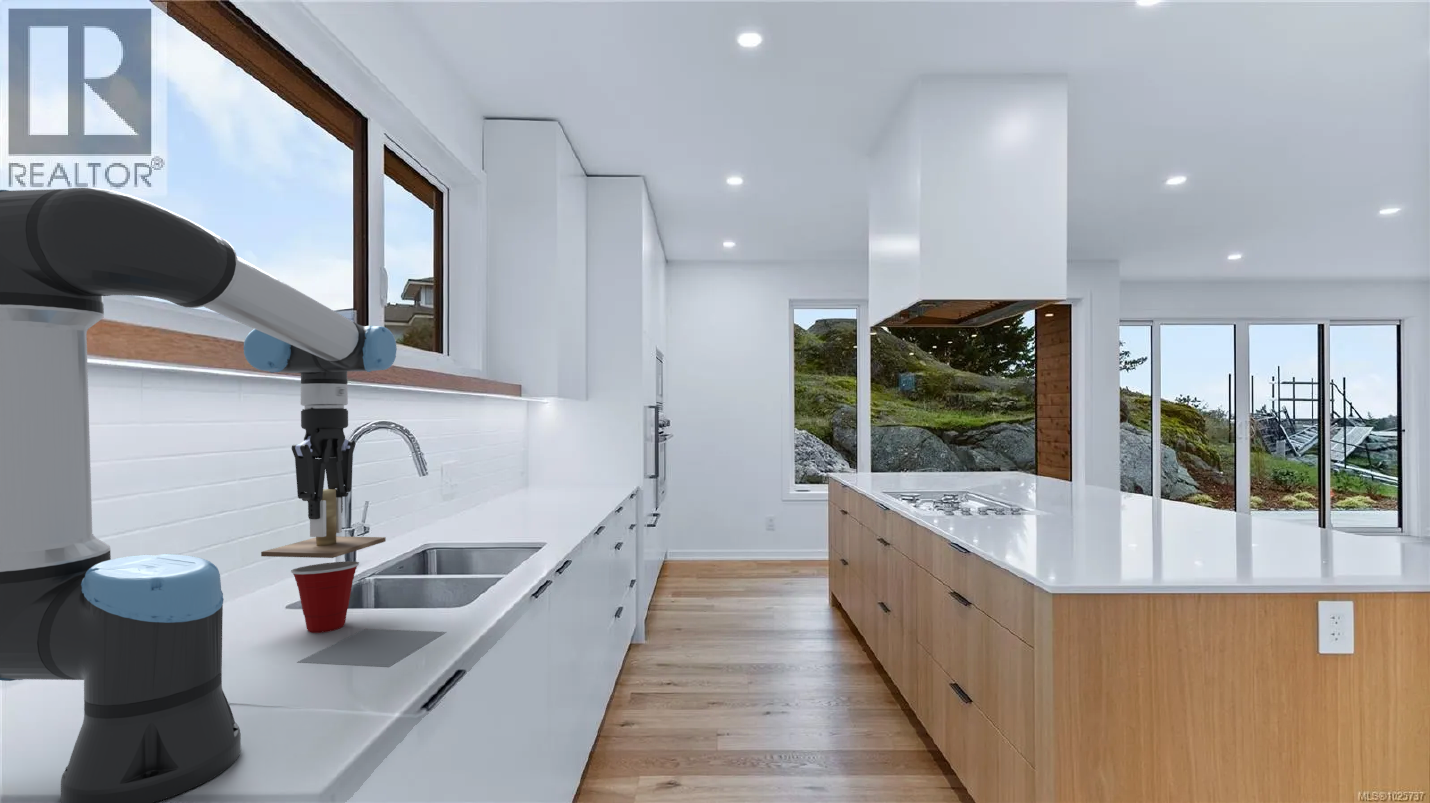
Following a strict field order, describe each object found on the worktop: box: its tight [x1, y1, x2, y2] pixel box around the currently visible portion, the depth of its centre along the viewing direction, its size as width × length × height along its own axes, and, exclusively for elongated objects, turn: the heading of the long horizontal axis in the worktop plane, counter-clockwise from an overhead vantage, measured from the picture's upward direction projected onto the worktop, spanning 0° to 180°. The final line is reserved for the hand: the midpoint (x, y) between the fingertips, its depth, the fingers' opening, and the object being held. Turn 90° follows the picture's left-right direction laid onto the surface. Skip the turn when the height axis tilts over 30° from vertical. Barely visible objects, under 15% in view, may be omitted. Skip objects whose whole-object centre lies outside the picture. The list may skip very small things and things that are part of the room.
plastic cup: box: [290, 560, 360, 634], centre depth 121 cm, size 11×11×12 cm
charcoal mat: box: [296, 628, 447, 668], centre depth 110 cm, size 16×16×1 cm
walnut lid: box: [260, 488, 387, 559], centre depth 121 cm, size 14×14×11 cm
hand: (326, 534), depth 121 cm, fingers closed on walnut lid, 3 cm apart
